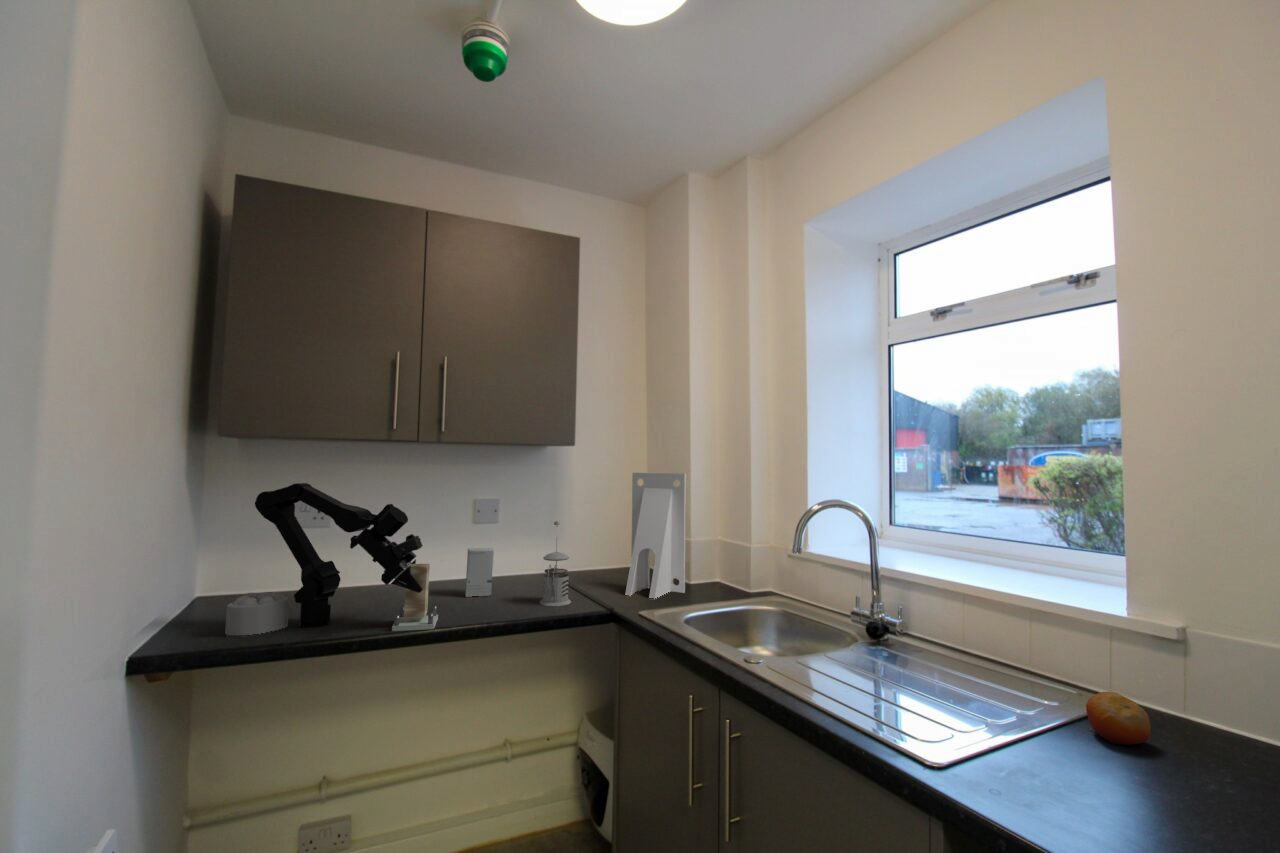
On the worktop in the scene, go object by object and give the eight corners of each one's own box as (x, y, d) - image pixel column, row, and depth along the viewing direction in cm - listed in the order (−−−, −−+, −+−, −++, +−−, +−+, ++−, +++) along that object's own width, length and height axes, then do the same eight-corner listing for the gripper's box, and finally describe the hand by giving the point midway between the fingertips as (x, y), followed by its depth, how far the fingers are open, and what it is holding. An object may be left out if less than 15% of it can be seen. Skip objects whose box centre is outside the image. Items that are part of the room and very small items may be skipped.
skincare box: (465, 597, 183) (466, 550, 184) (465, 593, 189) (466, 547, 190) (492, 596, 186) (493, 549, 187) (491, 592, 191) (492, 546, 192)
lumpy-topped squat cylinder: (292, 626, 149) (294, 592, 150) (238, 639, 138) (240, 602, 139) (270, 620, 154) (271, 588, 155) (215, 633, 143) (217, 597, 144)
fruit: (1110, 714, 99) (1130, 682, 95) (1147, 759, 92) (1170, 727, 88) (1064, 714, 99) (1082, 682, 95) (1098, 759, 92) (1119, 727, 88)
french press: (574, 599, 183) (575, 519, 185) (566, 608, 172) (567, 523, 173) (544, 597, 184) (545, 519, 186) (533, 606, 173) (535, 522, 174)
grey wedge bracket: (612, 594, 191) (614, 472, 194) (632, 586, 204) (633, 472, 206) (667, 601, 182) (669, 474, 185) (684, 592, 195) (685, 473, 198)
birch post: (403, 617, 149) (406, 566, 151) (407, 613, 154) (410, 563, 155) (424, 617, 150) (426, 566, 152) (427, 612, 155) (429, 563, 157)
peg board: (392, 631, 146) (392, 616, 147) (399, 620, 156) (399, 606, 156) (433, 629, 149) (434, 614, 149) (438, 618, 158) (438, 605, 159)
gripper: (397, 529, 144) (442, 573, 146) (409, 522, 162) (449, 561, 164) (361, 562, 142) (407, 606, 144) (378, 550, 160) (418, 590, 162)
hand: (422, 589), depth 153 cm, fingers closed on birch post, 5 cm apart
